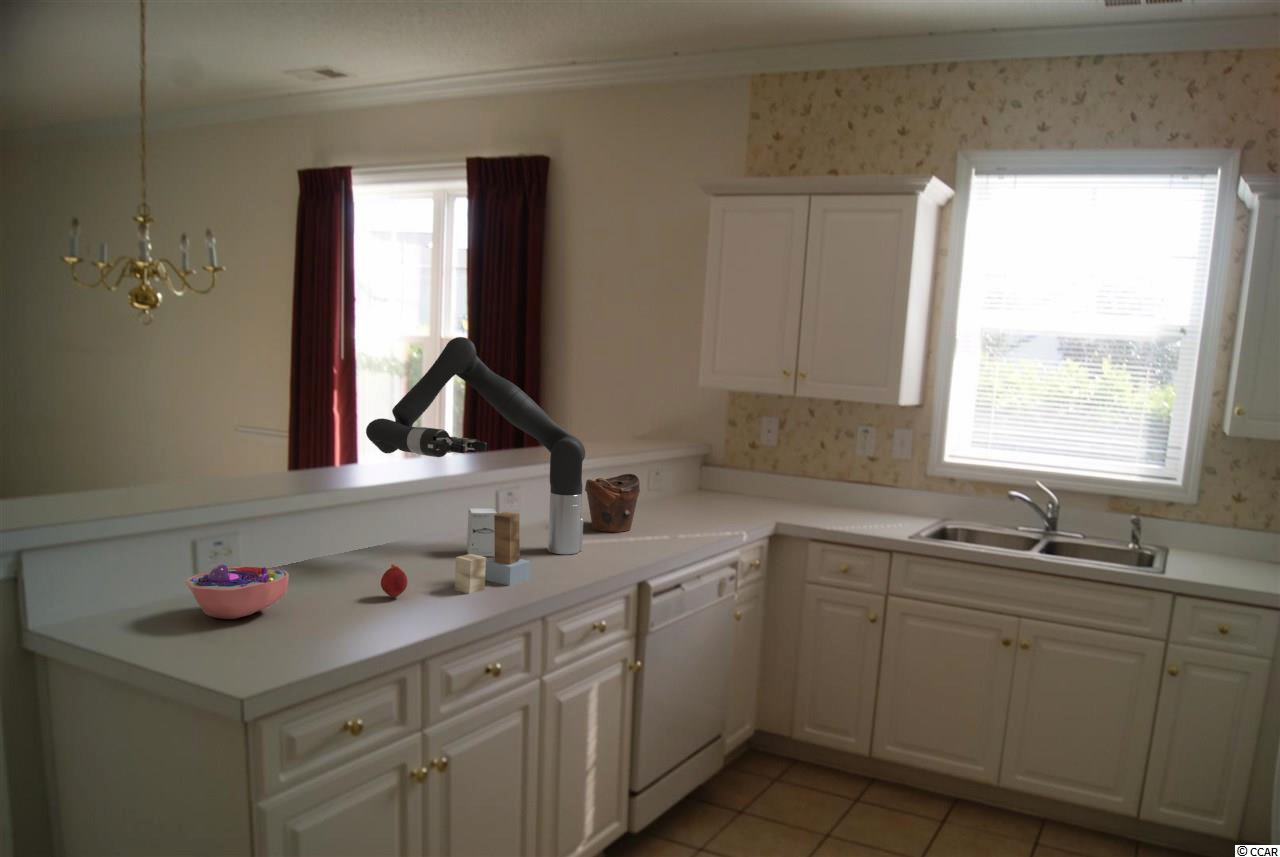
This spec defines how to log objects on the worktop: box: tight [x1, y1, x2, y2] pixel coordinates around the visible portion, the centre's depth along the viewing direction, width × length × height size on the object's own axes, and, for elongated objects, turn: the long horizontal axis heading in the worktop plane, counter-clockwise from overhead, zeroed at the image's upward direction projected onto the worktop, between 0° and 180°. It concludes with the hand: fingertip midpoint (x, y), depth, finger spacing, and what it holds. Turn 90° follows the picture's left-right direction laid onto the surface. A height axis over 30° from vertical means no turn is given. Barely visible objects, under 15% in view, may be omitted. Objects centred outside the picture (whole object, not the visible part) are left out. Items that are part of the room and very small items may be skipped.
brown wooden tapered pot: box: [584, 473, 641, 533], centre depth 290 cm, size 18×20×18 cm
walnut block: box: [494, 511, 521, 564], centre depth 220 cm, size 4×4×12 cm
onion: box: [380, 563, 408, 599], centre depth 201 cm, size 6×6×8 cm
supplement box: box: [466, 507, 498, 558], centre depth 246 cm, size 7×7×13 cm
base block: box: [485, 558, 532, 587], centre depth 222 cm, size 8×8×5 cm
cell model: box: [183, 563, 290, 620], centre depth 182 cm, size 17×20×11 cm
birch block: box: [454, 553, 487, 595], centre depth 211 cm, size 5×5×8 cm
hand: (475, 447), depth 228 cm, fingers open, 8 cm apart
